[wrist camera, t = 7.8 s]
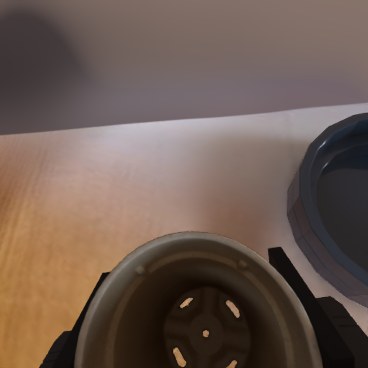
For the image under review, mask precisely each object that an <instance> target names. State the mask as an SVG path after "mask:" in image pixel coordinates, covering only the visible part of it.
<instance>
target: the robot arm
mask: <svg viewBox="0 0 368 368" xmlns="http://www.w3.org/2000/svg"><path fill="white" fill-rule="evenodd" d="M268 255H269V264H270V265H271V266H272V267H274V268H275V269H276V271H277V272H278V273H279V274H281V275H282V277H283V278H284V279H285V281H286V282H287V283H288V285H289V286H290V287H291V288H292V290H293V291H294V292H295V294H296V296H297V297H298V298H299V300H300V302H301V304H302V305H303V307H304V309H305V311H306V313H307V315H308V318H309V320H310V323H311V325H312V327H313V330H314V332H315V335H316V339H317V342H318V346H319V349H320V353H321V358H322V365H323V368H368V337H367V336H366V334H365V333H364V332H363V331H362V329H361V328H360V327H359V325H357V323H356V322H355V320H354V319H353V318H352V317H351V316H350V314H349V313H348V311H347V310H346V309H345V308H344V306H343V305H342V304H341V303H339V302H338V301H336V300H335V299H334V298H332V297H331V296H329V297H321V298H315V297H314V295H313V294H312V292H311V291H310V289H309V288H308V286H307V285H306V283H305V282H304V280H303V279H302V277H301V276H300V274H299V273H298V272H297V270H296V269H295V267H294V266H293V264H292V263H291V261H290V260H289V258H288V257H287V255H286V254H285V252H284V251H283V249H282V248H281V247H275V248H268ZM109 274H110V272H106V273H102V275H101V277H100V279H99V281H98V282H97V284H96V286H95V288H94V290H93V292H92V294H91V295H90V297H89V299H88V301H87V303H86V305H85V307H84V308H83V310H82V312H81V314H80V316H79V318H78V320H77V321H76V323H75V325H74V327H73V329H72V331H64V332H63V333H62V334H61V335H60V336H59V337H58V338H57V339H56V340H55V342H54V343H53V345H52V347H51V348H50V350H49V352H48V354H47V355H46V357H45V359H44V360H43V363H42V364H41V365H40V367H39V368H74V361H75V353H76V348H77V343H78V337H79V333H80V330H81V326H82V324H83V321H84V319H85V315H86V313H87V311H88V308H89V306H90V304H91V301H92V299H93V298H94V296H95V294H96V292H97V290H98V289H99V287H100V286H101V284H102V283H103V281H104V280H105V279H106V277H107V276H108V275H109Z"/></svg>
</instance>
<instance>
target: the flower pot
mask: <svg viewBox="0 0 368 368" xmlns="http://www.w3.org/2000/svg"><path fill="white" fill-rule="evenodd" d="M188 298H193V300H192V301H191V302H190V303H189V306H188V305H187V306H185V307H183V308H181V307H180V305H181V304H182V303H183V302H184V301H185V300H186V299H188ZM227 300H229V301H231V302H232V303H233V304H234V305H235V306H236V307H237V308H238V310H239V313H240V316H239V318H236V316H235V315H234V313H233V312H232V311H231V309H230V308H229V307H228V306H227V305H226V301H227ZM204 330H207V331H209V336H208V337H204V336H203V331H204ZM176 347H177V348H178V349H179V351H180V353H181V354H182V356H183V358H184V360H185V361H186V365H185V366H184V367H181V366H179V365H178V363H177V360H176V357H175V355H174V354H173V349H174V348H176ZM233 360H236V361H237V364H236V365H235V368H323V365H322V358H321V353H320V349H319V346H318V342H317V339H316V335H315V332H314V330H313V327H312V325H311V323H310V320H309V318H308V315H307V313H306V311H305V309H304V307H303V305H302V304H301V302H300V300H299V298H298V297H297V296H296V294H295V292H294V291H293V290H292V288H291V287H290V286H289V285H288V283H287V282H286V281H285V279H284V278H283V277H282V275H281V274H279V273H278V272H277V271H276V269H275V268H274V267H272V266H271V265H270V264H269V263H268V262H267V261H266V260H265V259H263V258H262V257H261V256H260V255H258V254H257V253H256V252H254V251H253V250H251V249H249V248H248V247H246V246H245V245H243V244H241V243H239V242H236V241H234V240H232V239H230V238H227V237H224V236H220V235H217V234H212V233H206V232H194V231H192V232H189V231H187V232H178V233H172V234H168V235H164V236H161V237H158V238H156V239H153V240H151V241H149V242H147V243H145V244H143V245H142V246H139V247H138V248H136V249H135V250H134V251H132V252H131V253H130V254H128V255H127V256H126V257H125V258H124V259H123V260H122V261H121V262H119V264H118V265H117V266H116V267H115V268H114V269H113V270H112V271H111V272H110V274H109V275H108V276H107V277H106V279H105V280H104V281H103V283H102V284H101V286H100V287H99V289H98V290H97V292H96V294H95V296H94V298H93V299H92V301H91V304H90V306H89V308H88V311H87V313H86V315H85V319H84V321H83V324H82V326H81V330H80V333H79V337H78V343H77V348H76V353H75V361H74V368H226V367H228V366H229V365H230V363H231V362H232V361H233Z"/></svg>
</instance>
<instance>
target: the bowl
mask: <svg viewBox="0 0 368 368" xmlns="http://www.w3.org/2000/svg"><path fill="white" fill-rule="evenodd" d="M287 216H288V219H289V223H290V226H291V229H292V232H293V235H294V238H295V241H296V242H297V245H298V246H299V248H300V249H301V250H302V252H303V253H304V255H305V256H306V258H307V259H308V261H309V262H310V263H311V265H312V266H313V268H314V269H315V270H316V272H317V273H319V274H320V275H321V276H322V277H323V278H324V279H326V280H327V281H328V282H329V283H330V284H331V285H332V286H334V287H335V288H336V289H337V290H338V291H339V292H341V293H342V294H343V295H344V296H346V297H347V298H349V299H351V300H353V301H355V302H357V303H359V304H361V305H363V306H365V307H367V308H368V113H362V114H357V115H353V116H351V117H348V118H346V119H344V120H342V121H340V122H338V123H336V124H333V125H331V126H329V127H328V128H326V129H325V130H324V131H323V132H322V133H321V134H320V135H319V136H318V137H317V138H316V139H315V140H314V141H313V142H312V143H311V144H310V145H309V147H308V149H307V151H306V153H305V155H304V157H303V159H302V161H301V163H300V165H299V167H298V169H297V171H296V173H295V175H294V177H293V180H292V182H291V184H290V187H289V189H288V200H287Z"/></svg>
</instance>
